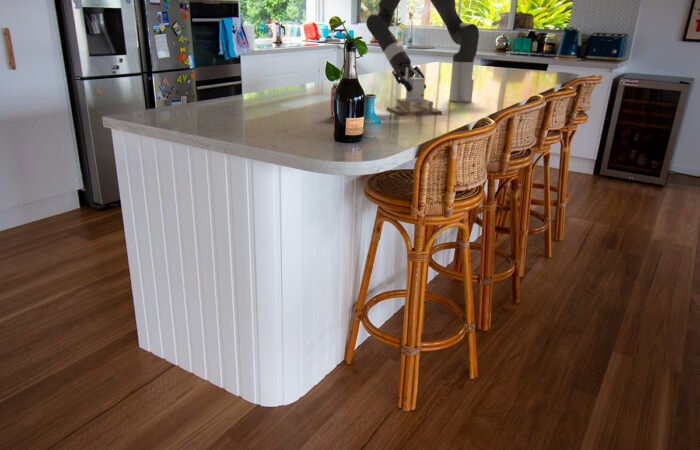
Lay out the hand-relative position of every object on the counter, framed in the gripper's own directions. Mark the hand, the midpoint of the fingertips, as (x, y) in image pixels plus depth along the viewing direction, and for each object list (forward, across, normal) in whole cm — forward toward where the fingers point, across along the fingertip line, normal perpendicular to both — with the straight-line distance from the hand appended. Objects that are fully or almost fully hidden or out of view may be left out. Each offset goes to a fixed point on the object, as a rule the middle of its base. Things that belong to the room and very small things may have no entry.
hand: (417, 89), depth 215 cm
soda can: (-2, -31, +15) cm, 34 cm away
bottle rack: (+5, 0, +7) cm, 9 cm away
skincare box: (+4, 0, +7) cm, 8 cm away
